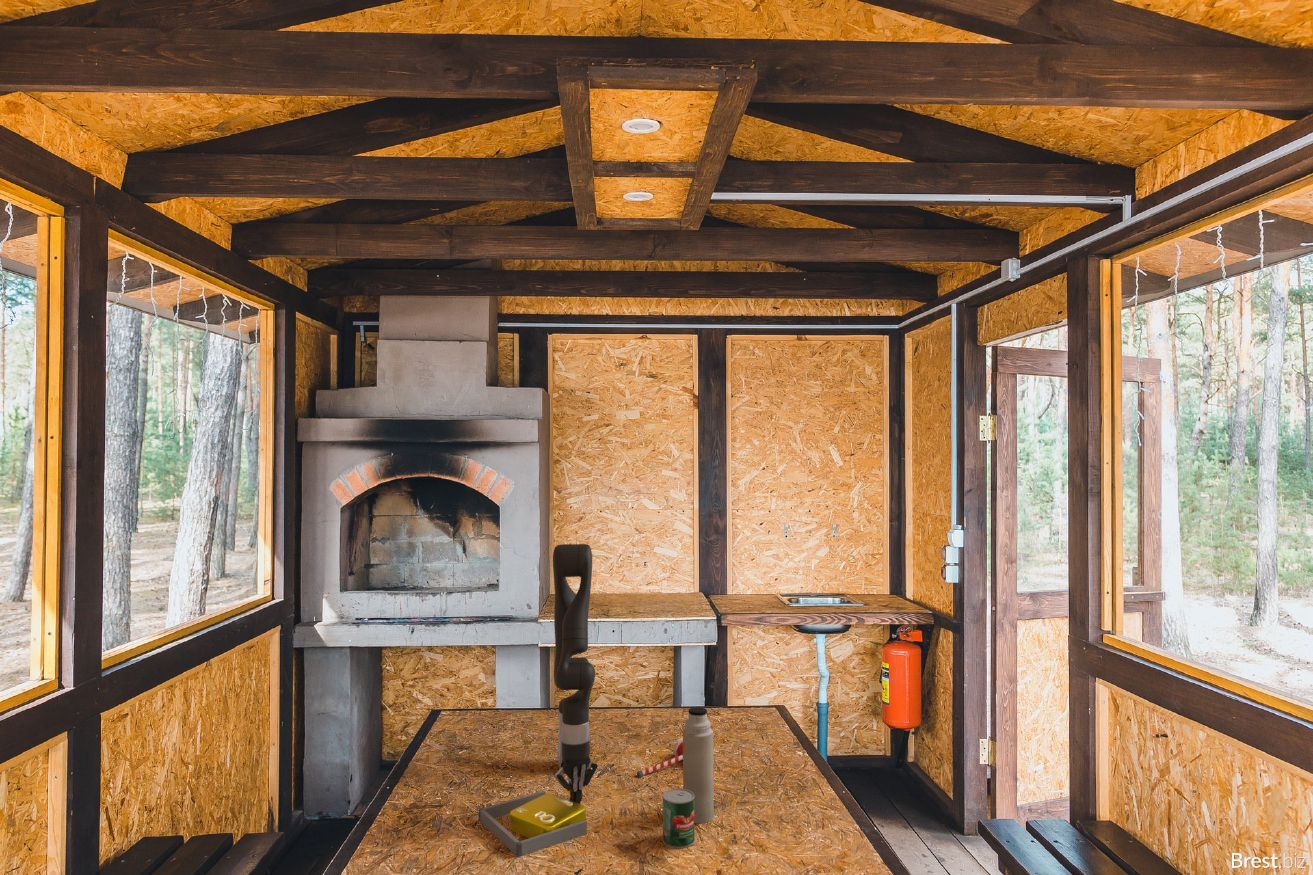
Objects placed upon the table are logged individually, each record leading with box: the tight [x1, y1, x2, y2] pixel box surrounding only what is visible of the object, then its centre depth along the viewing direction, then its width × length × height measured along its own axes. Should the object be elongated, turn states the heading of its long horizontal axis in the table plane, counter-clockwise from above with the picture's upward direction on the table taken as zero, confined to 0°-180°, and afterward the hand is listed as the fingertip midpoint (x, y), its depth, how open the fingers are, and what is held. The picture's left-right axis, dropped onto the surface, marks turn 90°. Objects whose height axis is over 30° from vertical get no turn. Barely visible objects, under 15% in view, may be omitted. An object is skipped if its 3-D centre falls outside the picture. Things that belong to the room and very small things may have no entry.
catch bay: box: [478, 790, 588, 858], centre depth 196 cm, size 23×19×3 cm
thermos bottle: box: [682, 706, 715, 824], centre depth 202 cm, size 8×8×28 cm
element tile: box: [509, 793, 587, 839], centre depth 197 cm, size 15×15×5 cm
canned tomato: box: [662, 788, 696, 849], centre depth 189 cm, size 8×8×11 cm
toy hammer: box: [636, 737, 683, 779], centre depth 233 cm, size 23×12×6 cm, turn 123°
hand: (575, 803), depth 204 cm, fingers closed
